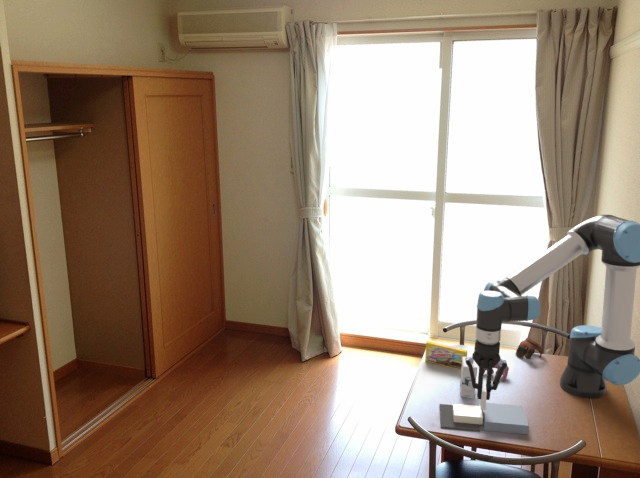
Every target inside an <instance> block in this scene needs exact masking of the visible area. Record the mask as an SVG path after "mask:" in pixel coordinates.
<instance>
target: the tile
mask: <svg viewBox="0 0 640 478" xmlns="http://www.w3.org/2000/svg"><path fill="white" fill-rule="evenodd" d="M452 405H453V420H454V422H459V423H470V424H479V425H483V414H482V410H481V409H480V405H470V404H460V403H459V404H458V403H452ZM483 426H484V425H483Z"/></svg>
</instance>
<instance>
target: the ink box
mask: <svg viewBox="0 0 640 478" xmlns="http://www.w3.org/2000/svg"><path fill="white" fill-rule="evenodd" d="M467 357H468V358H470V357H471V356H467ZM467 357H462V368H461V370H460V381H459V390H460V397H462V398H469V399H474V398H475V394H476V388H475V389H474V388H473V386H472V381H471V376H470V371H469V367H468V366H467V364H466V361H465V358H467ZM472 366H473V371H474V376H475V381H476V382H477V376H478V365H477V363H476V362H475V361H474V360H473V364H472Z"/></svg>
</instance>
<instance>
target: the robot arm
mask: <svg viewBox="0 0 640 478" xmlns="http://www.w3.org/2000/svg"><path fill="white" fill-rule="evenodd" d="M594 250H596V251H597V250H600V251H601V263H602V264H603V265H604V266H605V279H604V293H603V306H602V317H601V327H600V326H596V325H585V324H584V325H575V326H574V327H573V328H572V329H571V330H570V335H569V347H568V356H567V365H566V367H565V368H564V370H563V372H562V374H561V376H560V380H559V386H560V387H561V389H562V390H564V391H565V392H566V393H569V394H571V395H574V396H576V397H579V398H585V399H599V398H602V397H604V396H605V395H606V393H607V383H606V381H607V382H609V383H611V384H612V385H615V386H624V385H628V384H630V383H632V382H633V381H634V380H635V379H637V378H638V377H639V375H640V358H639V357H638V356H637V355H635V352H636V350H635V349H636V343H635V341H634V340H633V339H632V338H631V337H632V324H633V313H634V305H635V304H634V300H635V290H636V279H637V269H638V268H640V223H639V222H636V221H633V220H628V219H625V218H622V217H618V216H615V215H612V214H599V215H595V216H593V217H590V218H587V219H585V220H584V221H582V222H580V223H579V224H577V225H575V226H573V227H572V228H571V229H569V230H567V233H566V236H564V237H563V238H561V239H560V240H559V241H557V242H555V243H554V244H553V245H551V246H550V247H549V248H547V249H545V250H544V251H543V252H541V253H539V254H538V255H537V256H536V257H534V258H533V259H531V260H529V261H528V262H527V263H525V264H524V265H522V266H521V267H520V268H518V269H517V270H515V271H514V272H512V273H511V274H509V275H507V277H505V278H504V279H502V280H491V281H489V282H488V283H487V284H485V287H484V290H483V291H481V292H480V293H479V294H478V298H477V303H476V304H477V305H476V309H477V311H476V325H475V335H474V336H475V340H474V351H473V353H472V355H471V356H467V358H465V361H466V364H467V366H468V367H469V371H470V376H471V381H472V386H473V388H474V389H475V390H477V393H476V397H477V400H479V406H480V409H481V410H486V403H487V401H490V398H491V392H492V391H497V389H498V386H499V383H500V381H501V379H502V376H503V375H502V373H503V370H504V369H505V368H506V367H507V366H508V364H507V360H505V359H502V358H501V355H500V350H501V347H500V346H501V342H500V341H501V337H502V336H501V333H502V325H503V323H508V322H528V321H534V320H537V319H538V318H539V317H540V315H541V308H542V307H541V303H540V300H539V299H538V298H537V297H536V296H534V295H525V296H524V294H525V293H527V292H528V291H530V290H531V289H533V287H534V288H535V287H536V286H537V285H538V284H540V283H542V281H544V280H546V279H548V278H549V277H550V276H551V275H553V274H554V273H556V272H558V271H559V270H560V269H562V268H563V267H565V266H566V265H568V264H569V263H571V262H572V261H574V260H575V259H577V258H578V257H579V256H580V255H588V254H590V252H593V251H594ZM468 357H470V358H468ZM473 360H474V361H475V362H476V363H477V367H478V374H477V376H478V377H477V380H476V381H475V376H474V371H473V366H472V364H473ZM498 362H499V366H498V369H497V368H496V371H497V372H496V371H495V374H494V377H493V380H492V376H493V374H492V369H493V370H494V368H493V367H494V366H495V365H496V364H497V363H498ZM484 368H487V370H486V382H485V387H483V386H484V385H483V384H484V374H485V373H484ZM483 373H484V374H483Z"/></svg>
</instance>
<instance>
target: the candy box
mask: <svg viewBox="0 0 640 478" xmlns="http://www.w3.org/2000/svg"><path fill="white" fill-rule="evenodd" d="M462 357H468V350H467V349H462V348H458V347H455V346H454V347H453V346H451V345H450V346H449V345H445V344H442V343H438V342H433V341H428V340H427V341H426V342H425V359H424V360H425V362H427V363H431V364H435V365H439V366H443V367H447V368H451V369H455V370H458V371H461V368H462Z"/></svg>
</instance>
